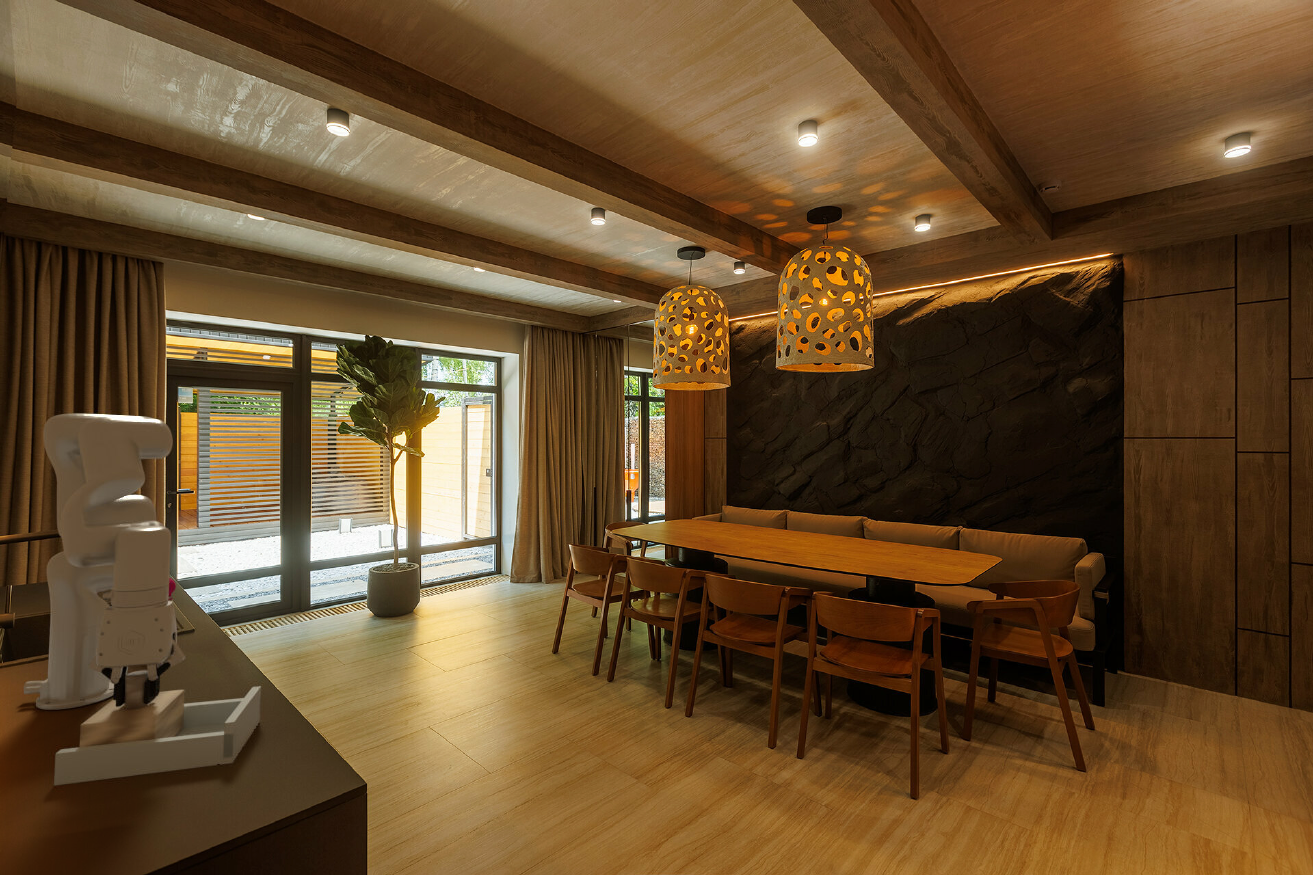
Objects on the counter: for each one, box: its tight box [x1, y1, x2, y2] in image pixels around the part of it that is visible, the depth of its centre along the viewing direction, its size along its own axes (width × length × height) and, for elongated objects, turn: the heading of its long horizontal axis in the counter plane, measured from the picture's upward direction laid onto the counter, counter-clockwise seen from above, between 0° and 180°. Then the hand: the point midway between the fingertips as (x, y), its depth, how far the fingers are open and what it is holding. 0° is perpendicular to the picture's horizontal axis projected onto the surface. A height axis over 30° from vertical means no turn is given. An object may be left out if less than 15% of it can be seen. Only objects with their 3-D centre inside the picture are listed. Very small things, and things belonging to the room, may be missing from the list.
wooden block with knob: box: [79, 669, 186, 747], centre depth 105 cm, size 10×12×13 cm
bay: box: [53, 685, 262, 786], centre depth 106 cm, size 24×16×7 cm, turn 110°
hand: (136, 701), depth 105 cm, fingers closed on wooden block with knob, 3 cm apart
